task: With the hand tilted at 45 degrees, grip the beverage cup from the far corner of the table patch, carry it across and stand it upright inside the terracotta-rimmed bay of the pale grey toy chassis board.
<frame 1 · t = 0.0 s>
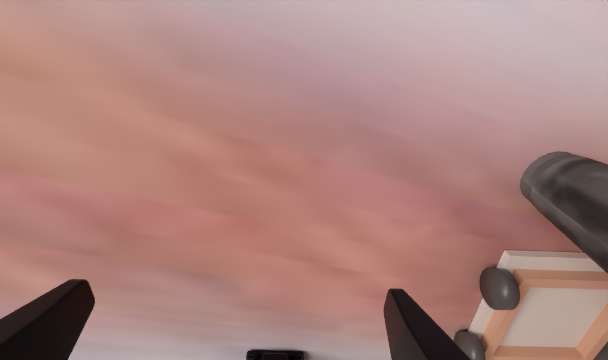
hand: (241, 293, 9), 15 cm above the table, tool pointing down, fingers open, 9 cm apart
chassis: (544, 308, 30), on the table
beverage cup: (547, 176, 24), on the table
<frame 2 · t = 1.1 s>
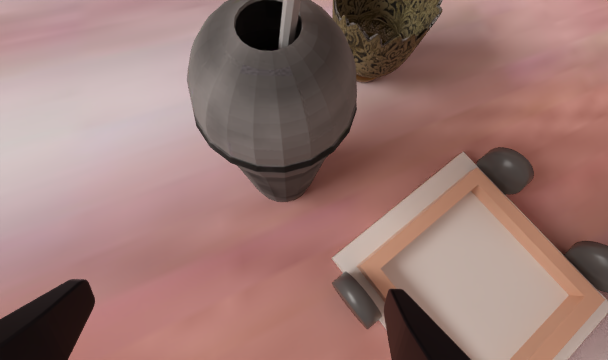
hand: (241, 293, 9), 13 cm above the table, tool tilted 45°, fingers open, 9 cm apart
chassis: (466, 281, 22), on the table
cup: (361, 70, 27), on the table
beverage cup: (283, 175, 24), on the table
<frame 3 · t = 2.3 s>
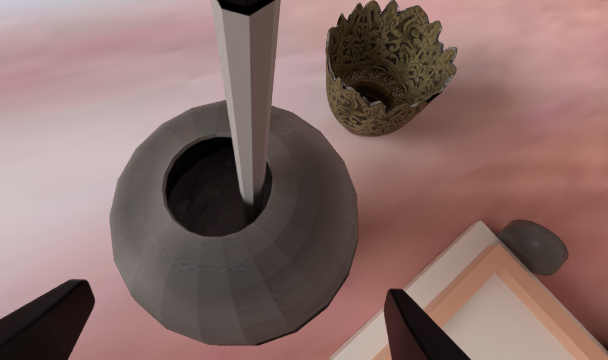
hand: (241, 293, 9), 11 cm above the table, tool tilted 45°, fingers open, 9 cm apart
cup: (360, 121, 24), on the table
beverage cup: (271, 251, 21), on the table
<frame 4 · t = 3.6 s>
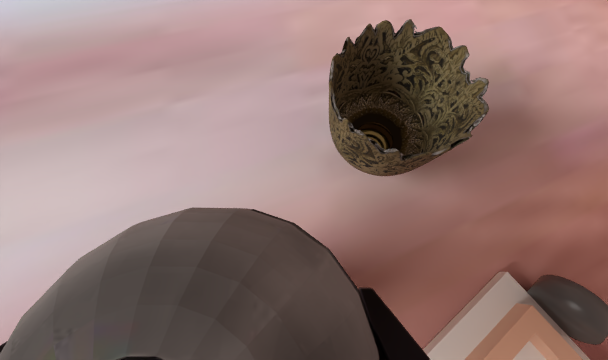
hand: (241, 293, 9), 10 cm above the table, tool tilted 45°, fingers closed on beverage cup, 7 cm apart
cup: (366, 151, 21), on the table
beverage cup: (265, 309, 18), on the table, touching gripper
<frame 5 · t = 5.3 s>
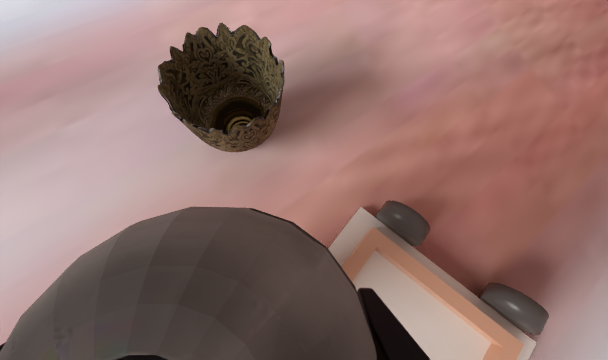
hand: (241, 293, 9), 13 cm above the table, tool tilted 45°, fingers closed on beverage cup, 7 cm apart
chassis: (386, 352, 20), on the table
cup: (243, 133, 25), on the table
beverage cup: (263, 307, 18), point 3 cm above the table, touching gripper
when the fingers open (11 cm above the table, at t = 7.0 s): beverage cup stays where it is, resting on chassis.
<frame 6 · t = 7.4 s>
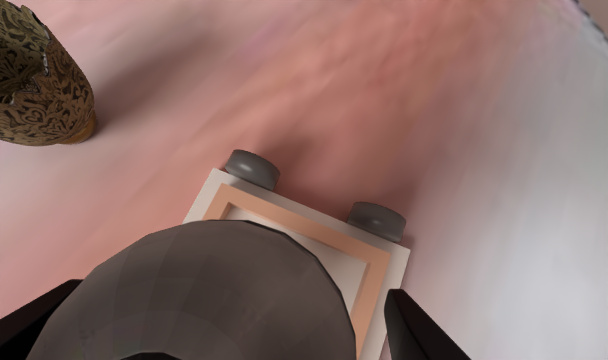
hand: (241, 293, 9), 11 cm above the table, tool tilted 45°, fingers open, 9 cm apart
chassis: (267, 306, 19), on the table
cup: (78, 127, 23), on the table
beverage cup: (263, 308, 19), point 1 cm above the table, touching chassis
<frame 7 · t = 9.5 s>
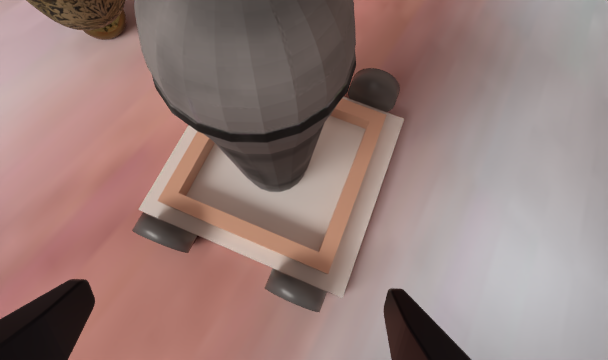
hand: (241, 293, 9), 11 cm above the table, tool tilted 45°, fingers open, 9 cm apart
chassis: (279, 165, 22), on the table
cup: (109, 28, 26), on the table
beverage cup: (276, 163, 22), point 1 cm above the table, touching chassis
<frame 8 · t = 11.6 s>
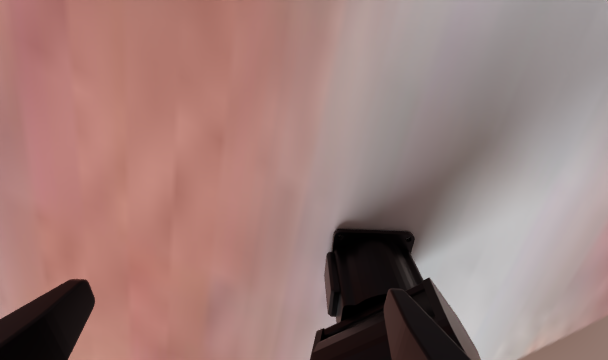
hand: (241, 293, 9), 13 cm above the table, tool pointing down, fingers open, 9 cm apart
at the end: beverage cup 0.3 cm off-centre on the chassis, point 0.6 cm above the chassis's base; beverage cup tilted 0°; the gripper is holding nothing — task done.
